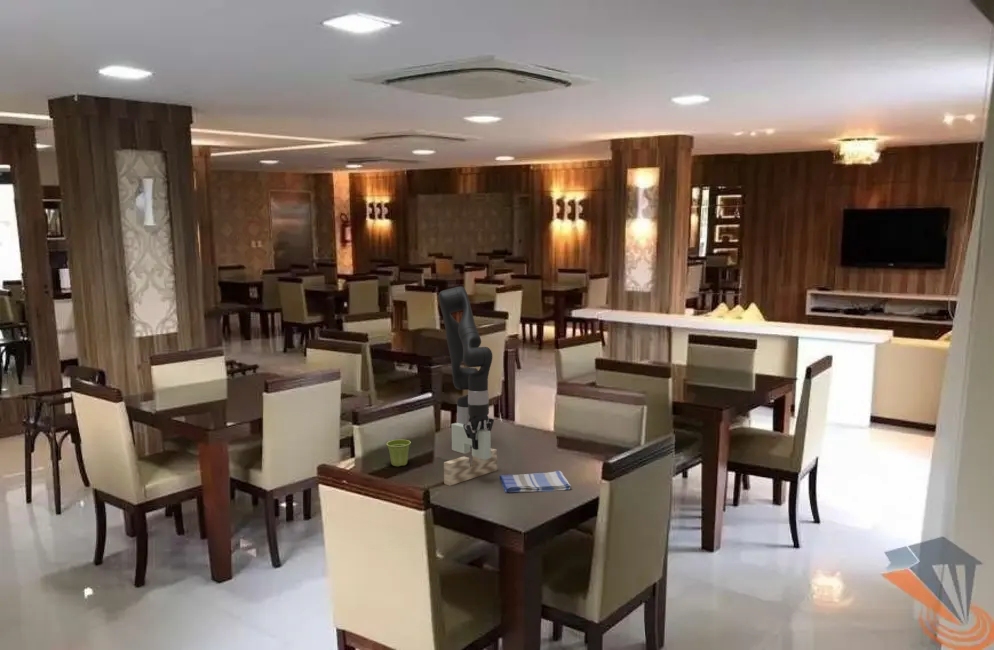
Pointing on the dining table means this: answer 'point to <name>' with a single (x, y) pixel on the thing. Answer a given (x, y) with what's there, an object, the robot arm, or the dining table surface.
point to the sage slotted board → (463, 443)
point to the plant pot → (399, 451)
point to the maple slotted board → (468, 468)
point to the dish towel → (534, 482)
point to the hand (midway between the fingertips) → (479, 447)
